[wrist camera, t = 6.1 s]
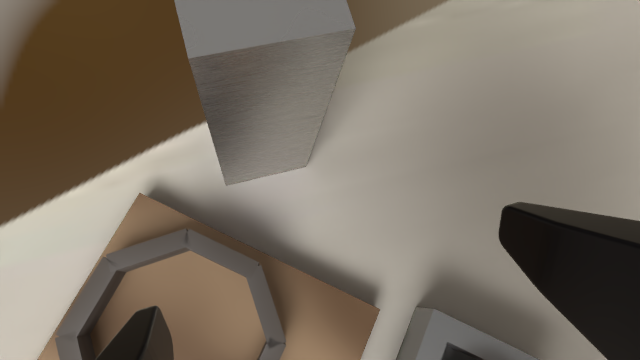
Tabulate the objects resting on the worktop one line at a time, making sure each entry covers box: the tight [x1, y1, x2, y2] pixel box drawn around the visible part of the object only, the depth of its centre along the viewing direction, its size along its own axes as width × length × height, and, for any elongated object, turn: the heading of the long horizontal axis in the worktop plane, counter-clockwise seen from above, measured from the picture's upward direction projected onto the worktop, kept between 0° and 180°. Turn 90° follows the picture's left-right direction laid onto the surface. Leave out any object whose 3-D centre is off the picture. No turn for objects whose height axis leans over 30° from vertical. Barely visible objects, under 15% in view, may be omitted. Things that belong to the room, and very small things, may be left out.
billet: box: [174, 0, 356, 186], centre depth 18 cm, size 4×4×13 cm
